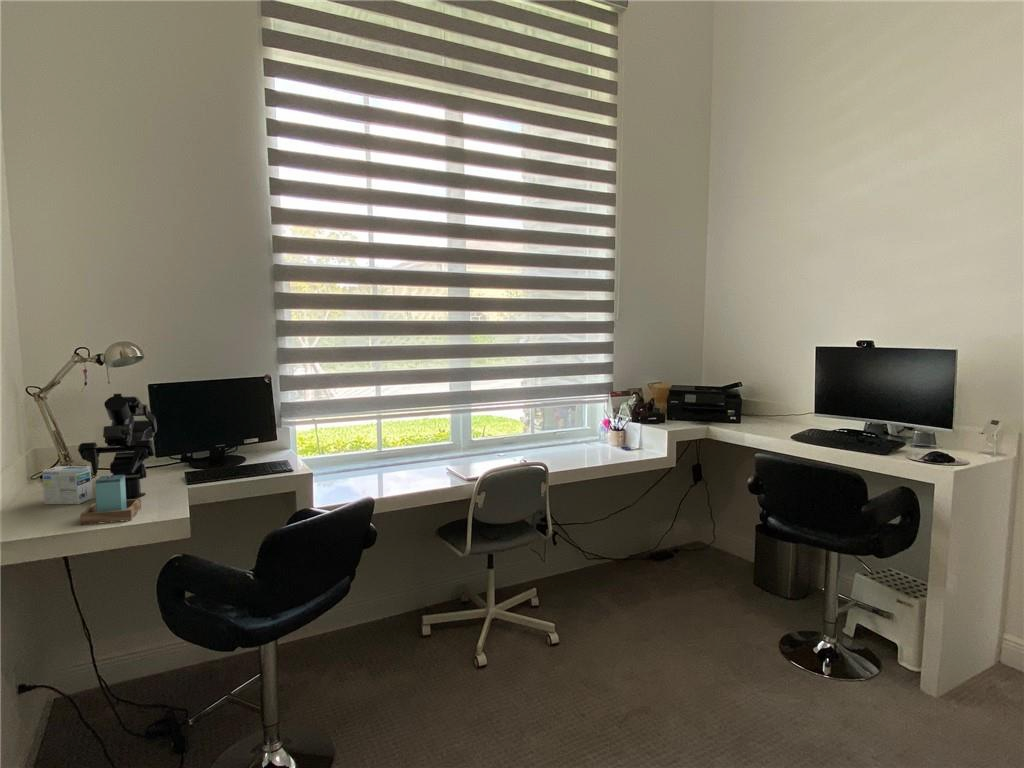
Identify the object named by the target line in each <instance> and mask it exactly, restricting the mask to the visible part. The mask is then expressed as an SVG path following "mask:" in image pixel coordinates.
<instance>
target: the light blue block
mask: <svg viewBox="0 0 1024 768" xmlns="http://www.w3.org/2000/svg"><path fill="white" fill-rule="evenodd" d="M94 483H95V484H94V485H95V499H96V500H95V502H96V503H97V512H104V511H117V510H126V509H127V505H126V486H125V475H113V473H111V472H110V473H109V474H108V475H102V476H100V477H98V478H97V479H95V481H94Z"/></svg>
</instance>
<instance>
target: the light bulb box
mask: <svg viewBox="0 0 1024 768" xmlns="http://www.w3.org/2000/svg"><path fill="white" fill-rule="evenodd" d="M91 470H92V469H91V465H86V466H85V465H84V466H83V465H82V466H81V465H79V466H78V465H77V466H74V465H73V466H71V465H70V466H68V465H67V466H59V465H57V466H54V467H51V468H47V469H44V470H42V471H41V472H42V486H43V499H44V505H80V504H82V503H85V502H86V501H89V500H91V499H93V486H92V485H93V484H92V472H91Z"/></svg>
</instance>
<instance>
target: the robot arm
mask: <svg viewBox="0 0 1024 768" xmlns="http://www.w3.org/2000/svg"><path fill="white" fill-rule="evenodd" d="M103 404H104V407H105V410H106V413H107V415H108V417H109V420H110V421H111V424H110V425H105V426H103V431H102V433H103V434H102V438H104V443H105V444H107V445H99V446H98V445H97V442H96V441H91V442H89V441H88V442H81V443H80V444H79V445H78V447H77V452H78V454H79V455H80V457H81V459H82V460H84V461H86V462H88V463H90V464H91V465H90V466H91V468H92V469H91V470H92V473H93V475H94V476H95V477H96V476H97V474H98V469H99V464H100V459H99V458H100V454H108V453H115V455H114V457H113V460H112V461H111V462H110V465H109V466H110V467H109V471H110V474H111V473H113V475H125V486H126V500H130V499H140V497H143V496H145V495H146V492H142V489H141V480H143V479H145V478H147V477H148V476H147V469H146V465H145V464H144V461H145V460H148V459H150V457H154V456H155V455H156V454H155V452H156V450H155V449H156V448H155V446H154V445H155V444H154V443H153V440H152V439H153V438H154V436H155V433H157V432H158V425H157V424H158V423H157V419H156V416H155V415H154V414H153V413H152V412H151V411H150V410H149V407H148V404H143V403H142V401H141V400H140V399H139V397H137V396H136V395H135V396H123V394H122V393H113V396H111V397H108V398H107V399H106V400H105V401H104V403H103ZM135 417H145V418H146V419H145V420H144V419H143V420H135Z"/></svg>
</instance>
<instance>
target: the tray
mask: <svg viewBox="0 0 1024 768" xmlns="http://www.w3.org/2000/svg"><path fill="white" fill-rule="evenodd" d="M126 505H127V509H126V510H117V511H104V512H97V503H96V501H95V502H94V501H93V503H92V504H90V505H89V506H88V507H87V508H86V509H85V510H84V511H83V512H81V513H80V514H79V515H80V525H81V524H86V525H91V524H90V523H97V524H100V523H99V522H109V523H112V522H111V521H120V522H122V521H121V520H131V521H132V520H133V519H134V518H135V516H136V515H137V514H138V513H139V512H138V511H141V509H142V499H141V498H136V499H130V500H126ZM137 512H138V513H137ZM133 517H134V518H133ZM132 518H133V519H132Z"/></svg>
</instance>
